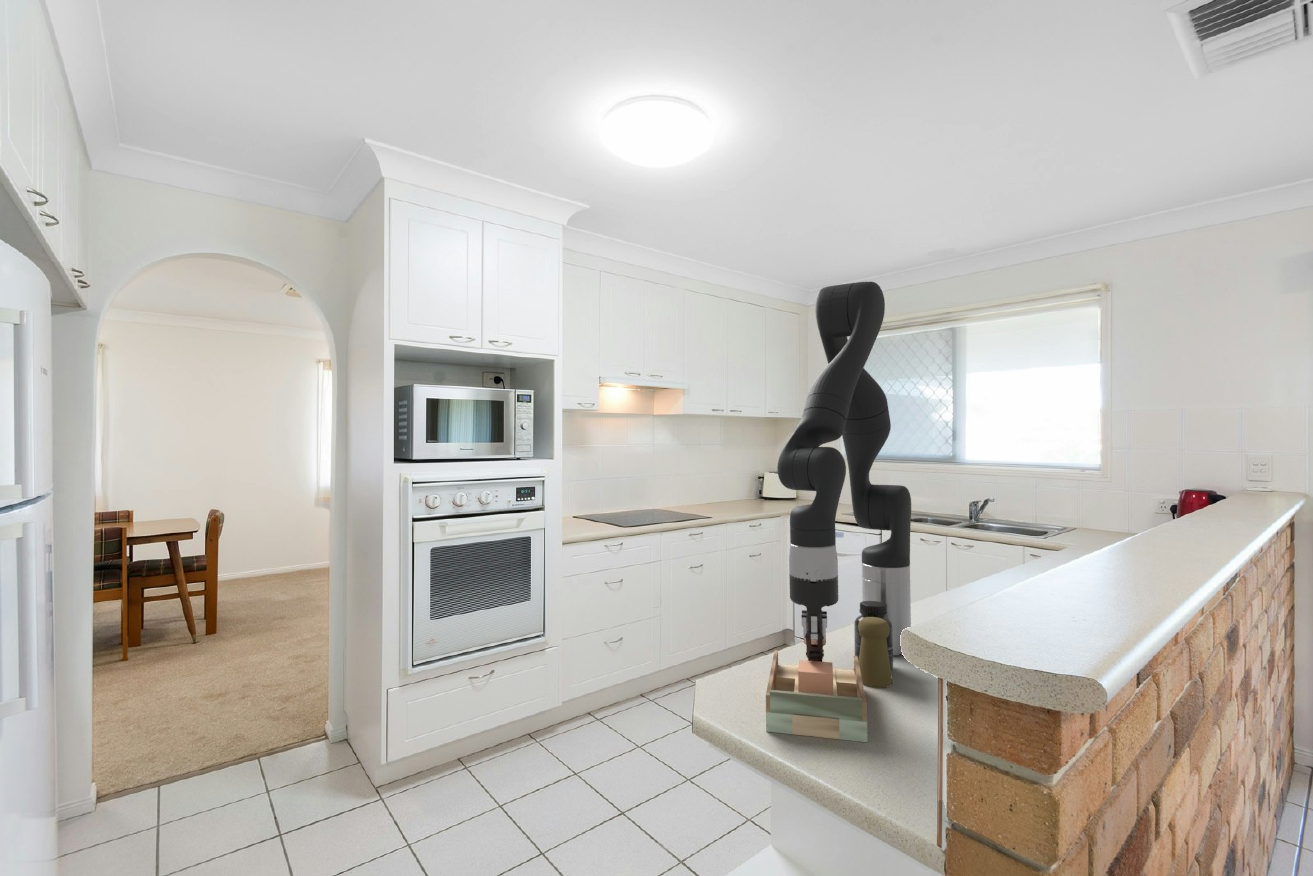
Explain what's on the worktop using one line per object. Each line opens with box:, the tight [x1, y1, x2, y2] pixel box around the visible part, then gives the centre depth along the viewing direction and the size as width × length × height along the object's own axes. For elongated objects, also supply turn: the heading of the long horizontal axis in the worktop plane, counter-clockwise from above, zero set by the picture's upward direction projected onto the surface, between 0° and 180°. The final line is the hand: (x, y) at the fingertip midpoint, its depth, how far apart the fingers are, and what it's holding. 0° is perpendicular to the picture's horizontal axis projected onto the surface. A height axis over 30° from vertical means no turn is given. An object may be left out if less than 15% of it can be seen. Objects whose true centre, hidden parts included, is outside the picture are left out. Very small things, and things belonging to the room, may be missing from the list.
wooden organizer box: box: [765, 649, 868, 743], centre depth 98 cm, size 20×14×6 cm
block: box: [798, 659, 834, 695], centre depth 93 cm, size 5×5×5 cm
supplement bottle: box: [853, 601, 894, 672], centre depth 114 cm, size 7×7×12 cm
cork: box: [858, 617, 894, 689], centre depth 108 cm, size 6×6×11 cm
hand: (815, 679), depth 98 cm, fingers closed
